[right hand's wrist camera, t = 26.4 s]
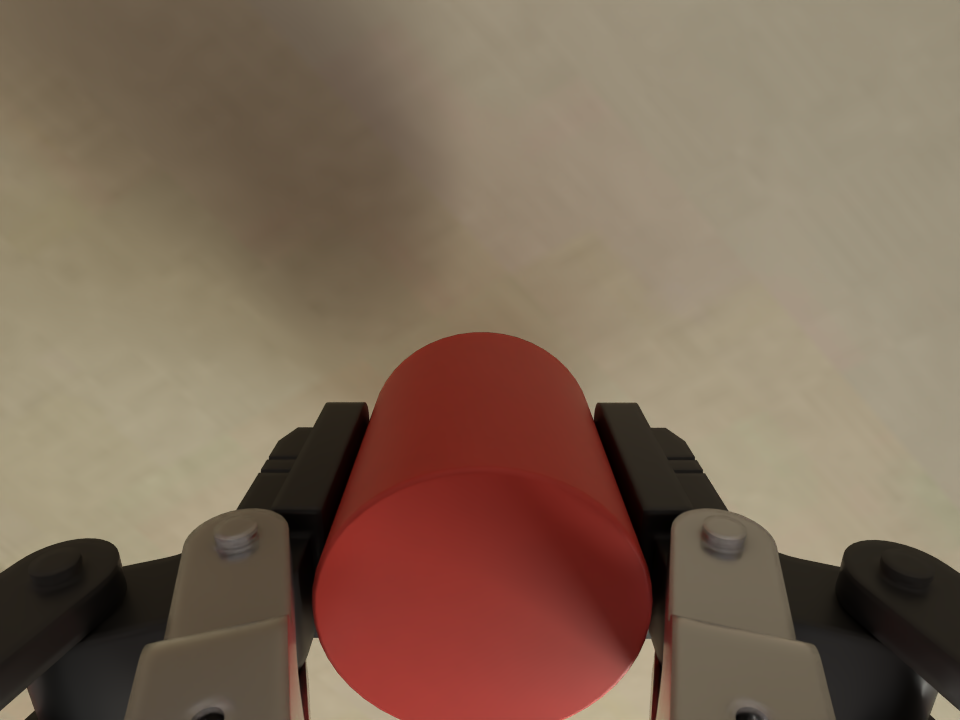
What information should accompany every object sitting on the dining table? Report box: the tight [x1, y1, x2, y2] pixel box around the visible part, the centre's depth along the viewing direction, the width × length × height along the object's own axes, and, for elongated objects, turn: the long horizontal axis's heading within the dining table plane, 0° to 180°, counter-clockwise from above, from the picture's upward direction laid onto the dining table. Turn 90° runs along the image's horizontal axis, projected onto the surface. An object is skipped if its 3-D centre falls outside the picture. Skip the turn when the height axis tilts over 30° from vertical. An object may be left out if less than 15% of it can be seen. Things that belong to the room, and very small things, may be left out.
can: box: [312, 332, 653, 720], centre depth 10 cm, size 4×4×5 cm
